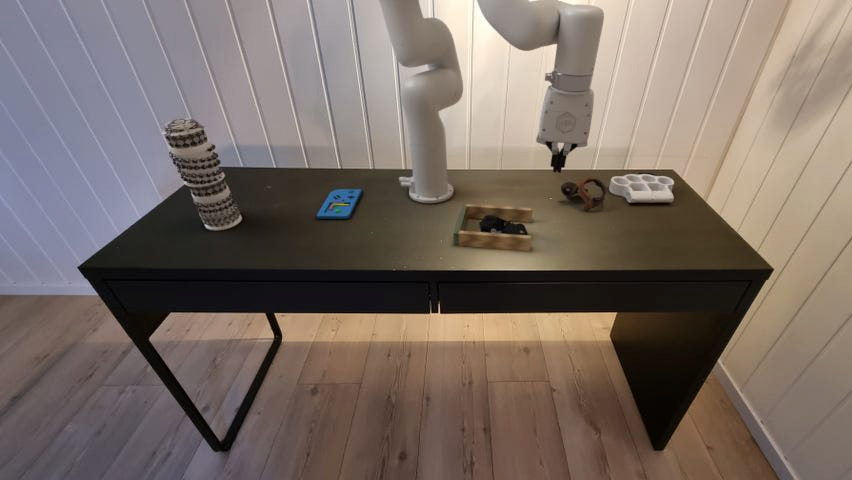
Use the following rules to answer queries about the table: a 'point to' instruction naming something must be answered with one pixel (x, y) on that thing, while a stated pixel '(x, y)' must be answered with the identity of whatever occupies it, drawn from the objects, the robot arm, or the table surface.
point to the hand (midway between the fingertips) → (556, 169)
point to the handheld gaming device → (339, 204)
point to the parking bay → (492, 238)
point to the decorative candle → (202, 173)
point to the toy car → (501, 226)
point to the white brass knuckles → (643, 188)
